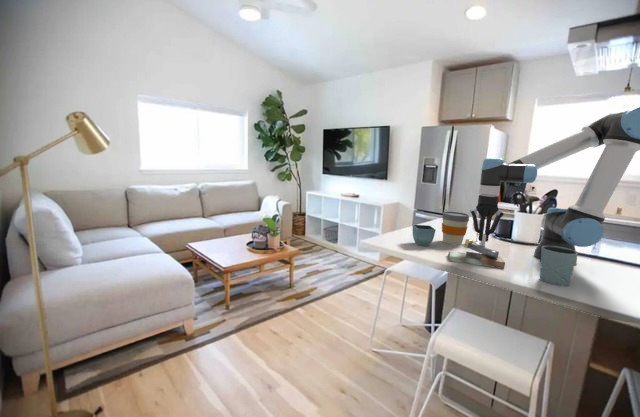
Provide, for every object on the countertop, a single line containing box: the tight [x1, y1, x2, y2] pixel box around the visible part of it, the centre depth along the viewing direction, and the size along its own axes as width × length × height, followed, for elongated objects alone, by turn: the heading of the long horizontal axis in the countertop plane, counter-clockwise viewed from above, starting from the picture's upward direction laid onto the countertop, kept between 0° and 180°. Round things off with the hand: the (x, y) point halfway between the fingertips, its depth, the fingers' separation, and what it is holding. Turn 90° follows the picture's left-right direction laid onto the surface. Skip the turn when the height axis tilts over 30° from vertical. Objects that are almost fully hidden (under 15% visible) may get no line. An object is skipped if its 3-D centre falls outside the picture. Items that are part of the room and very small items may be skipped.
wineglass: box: [471, 218, 486, 245], centre depth 154 cm, size 6×6×12 cm
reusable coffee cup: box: [441, 211, 470, 246], centre depth 153 cm, size 13×13×15 cm
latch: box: [464, 239, 499, 258], centre depth 129 cm, size 17×4×3 cm, turn 16°
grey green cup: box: [539, 246, 579, 287], centre depth 108 cm, size 10×10×12 cm
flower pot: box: [412, 224, 437, 247], centre depth 147 cm, size 9×9×9 cm
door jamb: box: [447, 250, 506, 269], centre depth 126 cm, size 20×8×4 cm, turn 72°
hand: (482, 248), depth 132 cm, fingers closed
